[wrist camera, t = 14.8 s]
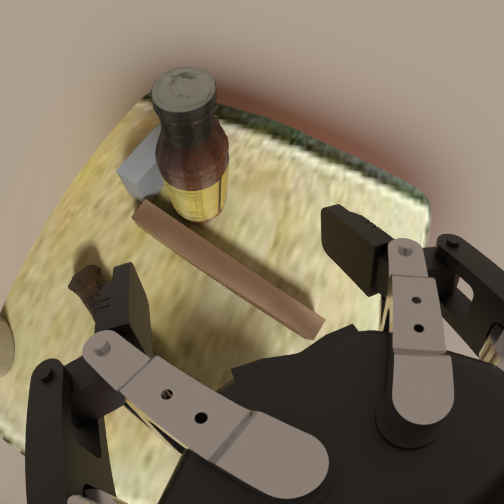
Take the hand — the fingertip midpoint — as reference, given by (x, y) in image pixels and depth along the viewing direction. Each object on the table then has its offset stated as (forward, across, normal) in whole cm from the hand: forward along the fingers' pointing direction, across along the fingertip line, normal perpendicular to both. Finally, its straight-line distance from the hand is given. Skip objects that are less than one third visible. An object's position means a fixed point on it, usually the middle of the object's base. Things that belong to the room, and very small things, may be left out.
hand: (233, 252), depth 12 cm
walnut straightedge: (+17, -1, +13) cm, 22 cm away
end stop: (+27, +3, +4) cm, 27 cm away
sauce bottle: (+24, -1, +7) cm, 25 cm away
